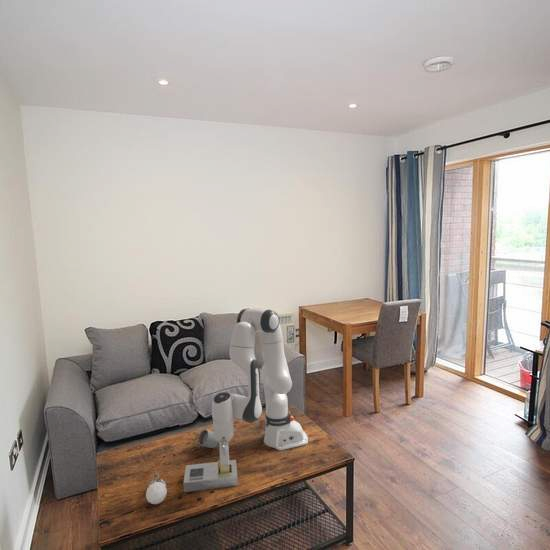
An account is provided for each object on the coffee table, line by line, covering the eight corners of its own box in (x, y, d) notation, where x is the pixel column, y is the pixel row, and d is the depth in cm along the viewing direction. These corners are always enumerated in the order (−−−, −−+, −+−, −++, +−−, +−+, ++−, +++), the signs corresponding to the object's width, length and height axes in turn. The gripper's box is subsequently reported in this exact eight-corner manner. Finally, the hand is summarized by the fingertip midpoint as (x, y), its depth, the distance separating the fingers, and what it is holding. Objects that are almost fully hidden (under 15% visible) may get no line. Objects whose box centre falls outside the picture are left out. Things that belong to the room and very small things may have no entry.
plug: (229, 474, 165) (229, 455, 164) (230, 480, 161) (229, 460, 160) (218, 475, 164) (217, 456, 163) (218, 481, 160) (217, 461, 159)
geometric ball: (168, 505, 147) (167, 486, 146) (147, 511, 144) (145, 492, 143) (166, 493, 154) (165, 475, 153) (145, 499, 151) (144, 480, 150)
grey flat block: (236, 468, 169) (236, 459, 169) (237, 485, 158) (237, 476, 157) (186, 473, 166) (185, 465, 166) (183, 492, 154) (183, 482, 154)
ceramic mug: (213, 452, 185) (222, 441, 184) (199, 449, 181) (209, 437, 179) (208, 435, 194) (217, 424, 193) (195, 431, 189) (204, 420, 188)
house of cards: (139, 501, 150) (138, 483, 149) (145, 487, 159) (144, 470, 158) (163, 499, 151) (161, 481, 150) (167, 485, 159) (166, 468, 159)
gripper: (231, 444, 151) (233, 476, 152) (230, 419, 171) (231, 448, 172) (215, 446, 150) (217, 478, 151) (216, 421, 170) (217, 450, 171)
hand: (224, 462), depth 162 cm, fingers open, 8 cm apart
